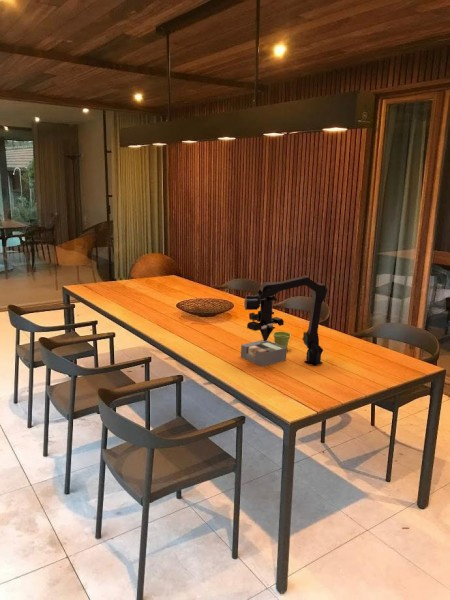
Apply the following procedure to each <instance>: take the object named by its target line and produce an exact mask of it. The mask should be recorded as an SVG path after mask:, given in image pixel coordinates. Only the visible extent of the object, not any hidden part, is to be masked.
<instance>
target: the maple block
mask: <svg viewBox="0 0 450 600" xmlns="http://www.w3.org/2000/svg"><path fill="white" fill-rule="evenodd" d="M256 351H258V352H261V353H266V352H267V350H264V349H262V348H260V347H257V346H250V347H249V348H248V354H250V355H253V356H255V353H256Z"/></svg>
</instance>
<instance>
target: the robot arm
mask: <svg viewBox="0 0 450 600" xmlns="http://www.w3.org/2000/svg"><path fill="white" fill-rule="evenodd" d="M304 286H306V287H307V288H309V289H310V290H311V292H310V296H311V301H312V303H311V310H310V316H309V322H308V328H307V331H306V332H305V331H304V332H303V337H302V342H303V345H305V346H306V348H307V351H306V357H305V358H306V359H305V360H304V363H306V364H308V365H312V366H318V365H322V364H323V363H324V362H323V361H321V359H322V354H323V352H324V349H323V347H321V346H320V339H319V338H320V337H319V333H318V330H319V324H320V319H321V312H322V307H323V303H324V301H325V299H326V296H327V293H328V288H327V286H325V285H324V284H322V283H320V282H316V281H313V279H311V278H310V277H309V276H307V275H302V276H298V277H294V278H290V279H285V280H280V281H265V282H262V284H260V286H259V289H258V291H257V292H256V294H255V295H250V294H247V295H245V298H244V306H243V307H244V310H245V311H250V310H251V311H253V310H254V311H255V310H256V311H257V310H258V309H259V310H258V311H257V313H255V312H250V313H248V317H249V320H250V321H249V322H247V323H246V329H249V330H251V331H255V332H256V331H260V333H261V337H262V340H264V341H267V340H268V339H269V337H270V335H271V334H272V332H273V330H274V329H275V328H276V326H274V325H275V324H276V325H278V326H279V327H280V326H284V324H285V323H284V319H283V318H280V317H277V316H275V317H273V315H275V311H273V306H274V305H273V304H274V302H275V301H278V298H277V297H276V296H275V295H277V294H279V293H280V292H282V291H286V290H291V289H295V288H299V287H304ZM321 363H322V364H321Z"/></svg>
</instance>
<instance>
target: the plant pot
mask: <svg viewBox="0 0 450 600" xmlns="http://www.w3.org/2000/svg"><path fill="white" fill-rule="evenodd" d="M272 334H273V338H274V343H276V344H278V345H281V346H283V347H286V348H287V349H288V346H289V345H288V344H289V342H290V338H291V336H292V334H291V333H290V332H286V331H275V332H273V333H272Z"/></svg>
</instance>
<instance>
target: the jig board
mask: <svg viewBox="0 0 450 600" xmlns="http://www.w3.org/2000/svg"><path fill="white" fill-rule="evenodd" d="M250 346H257V347H260V348H262V349H264V350H267V352H266V353H261V352H258V351H256V353H255V356H253V355H250V354H248V348H249V347H250ZM240 347H241V348H240V358H242V359H244V360H247V361H248V362H250V363H253V364H255V365H257V366H259V367H261V368H263V367H266V366H271V365H273V364H278V363H281V362H284V361H287V351H288V347H287V348H286V347H283V346H281V345H278V344H276V343H275V342H273V341H270V340H268V339H267V341H264V340H263V339H261V340H257V341H256V340H255V341H251V342H248V343H244V344H243V343H242V344H241V346H240Z"/></svg>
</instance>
